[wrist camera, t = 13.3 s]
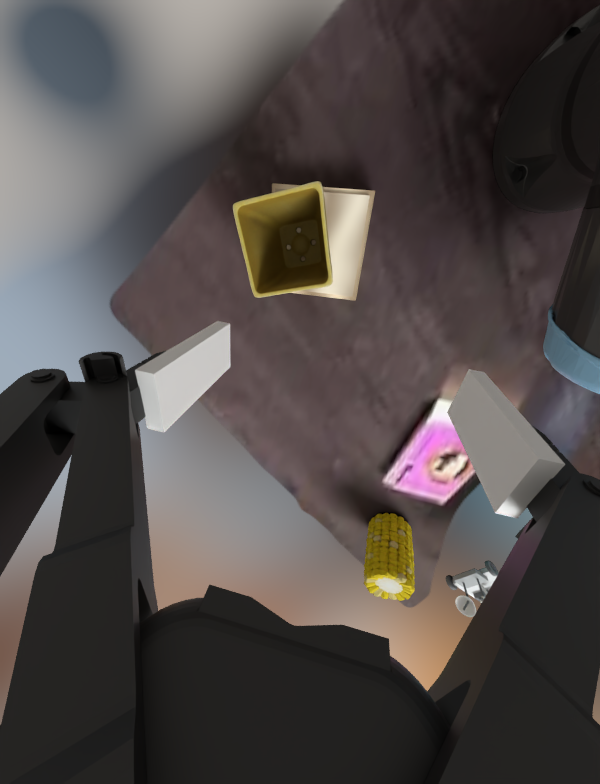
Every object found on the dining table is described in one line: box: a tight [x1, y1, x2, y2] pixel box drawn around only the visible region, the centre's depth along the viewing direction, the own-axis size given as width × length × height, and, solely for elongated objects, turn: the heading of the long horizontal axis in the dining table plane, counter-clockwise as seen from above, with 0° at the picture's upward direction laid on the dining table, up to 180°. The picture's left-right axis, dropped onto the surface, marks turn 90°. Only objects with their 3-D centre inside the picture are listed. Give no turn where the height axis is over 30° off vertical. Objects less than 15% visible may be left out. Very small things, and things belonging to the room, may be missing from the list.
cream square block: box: [272, 183, 375, 301], centre depth 36 cm, size 12×12×4 cm
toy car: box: [446, 561, 499, 617], centre depth 62 cm, size 18×10×12 cm
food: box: [364, 513, 415, 601], centre depth 57 cm, size 15×12×10 cm
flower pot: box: [233, 181, 333, 298], centre depth 30 cm, size 9×9×9 cm
